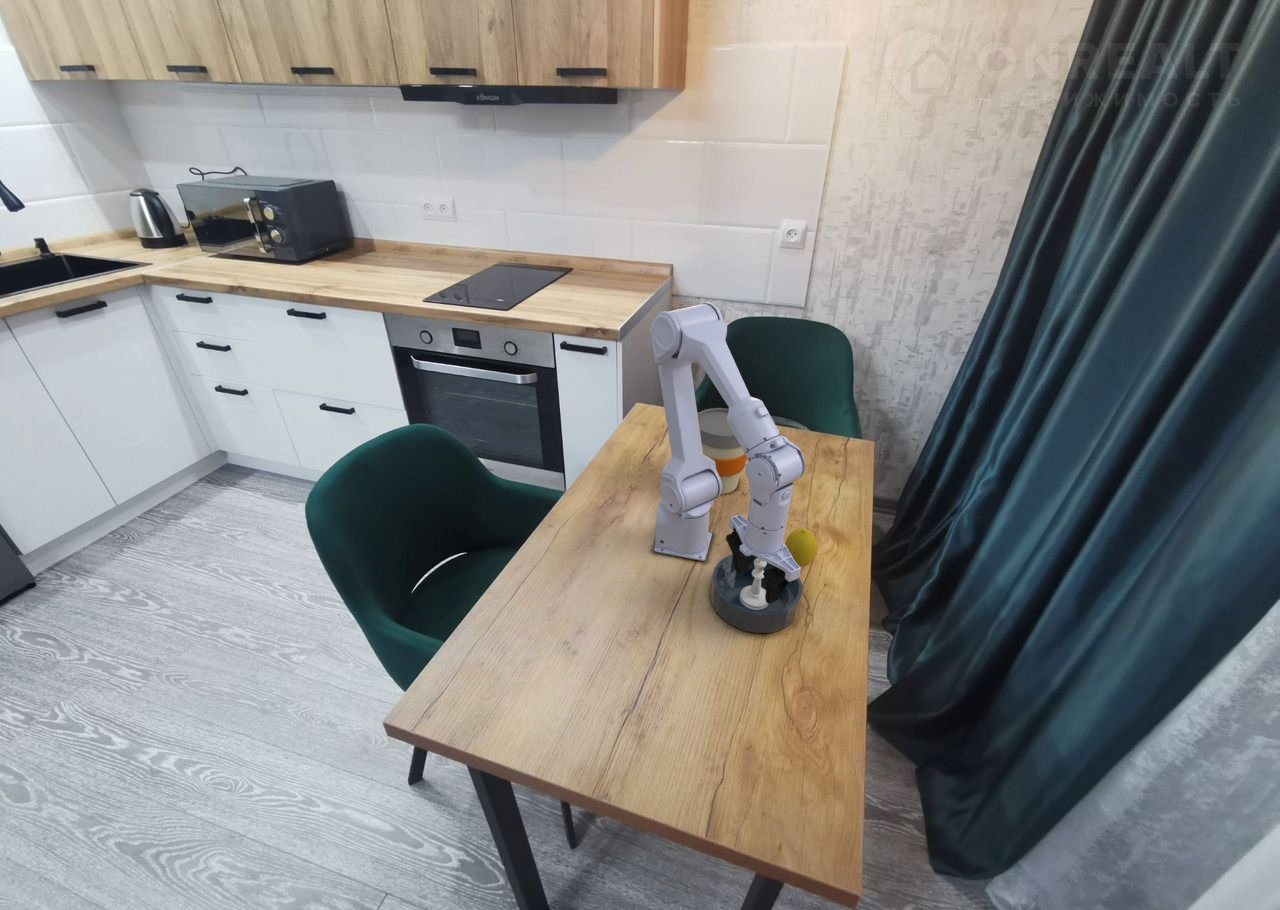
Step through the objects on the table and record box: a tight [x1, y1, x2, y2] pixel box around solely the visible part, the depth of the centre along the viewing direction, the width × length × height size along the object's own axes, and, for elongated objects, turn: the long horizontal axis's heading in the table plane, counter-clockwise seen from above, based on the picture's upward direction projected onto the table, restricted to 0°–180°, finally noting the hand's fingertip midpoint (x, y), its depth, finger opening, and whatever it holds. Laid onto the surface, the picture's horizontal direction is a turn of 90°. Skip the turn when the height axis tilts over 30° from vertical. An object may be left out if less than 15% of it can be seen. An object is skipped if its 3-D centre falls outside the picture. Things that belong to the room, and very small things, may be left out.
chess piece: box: [739, 558, 769, 610], centre depth 90 cm, size 5×5×10 cm
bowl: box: [710, 553, 804, 634], centre depth 92 cm, size 14×14×5 cm
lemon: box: [784, 528, 818, 568], centre depth 99 cm, size 6×6×8 cm
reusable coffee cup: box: [697, 407, 748, 495], centre depth 119 cm, size 12×13×15 cm
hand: (756, 585), depth 91 cm, fingers open, 7 cm apart
